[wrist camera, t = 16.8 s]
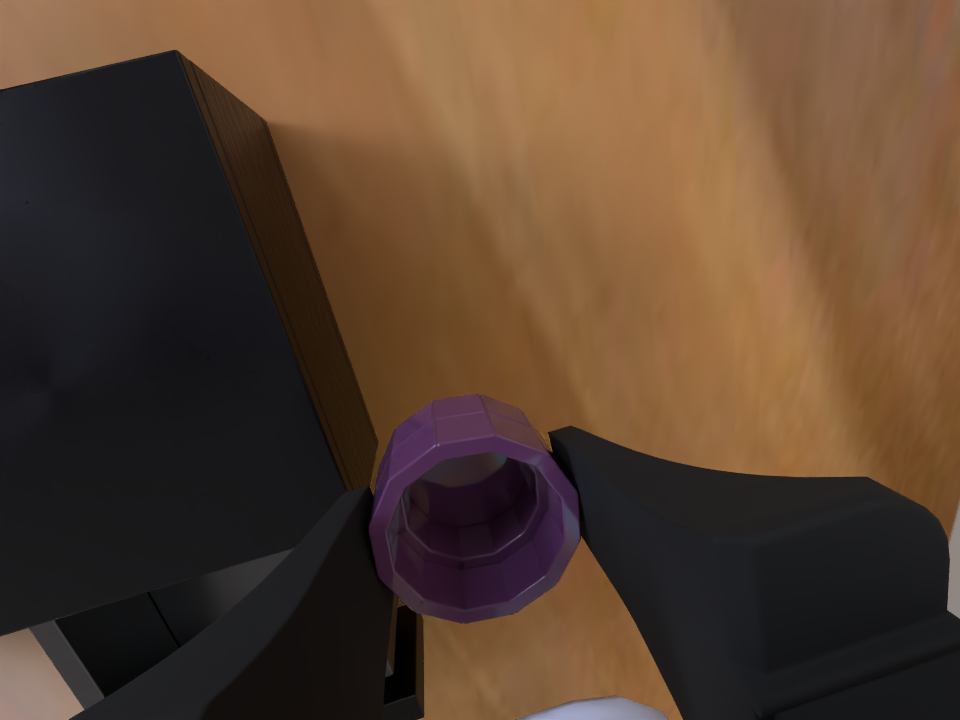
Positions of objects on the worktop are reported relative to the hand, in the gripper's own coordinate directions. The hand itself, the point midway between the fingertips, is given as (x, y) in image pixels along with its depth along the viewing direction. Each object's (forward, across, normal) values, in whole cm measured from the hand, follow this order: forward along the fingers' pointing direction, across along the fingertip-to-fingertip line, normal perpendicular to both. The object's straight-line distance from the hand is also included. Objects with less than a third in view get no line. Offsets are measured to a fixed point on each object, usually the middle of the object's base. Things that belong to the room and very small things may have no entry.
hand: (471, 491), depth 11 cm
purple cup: (+1, 0, 0) cm, 1 cm away
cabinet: (+8, +10, -5) cm, 14 cm away
